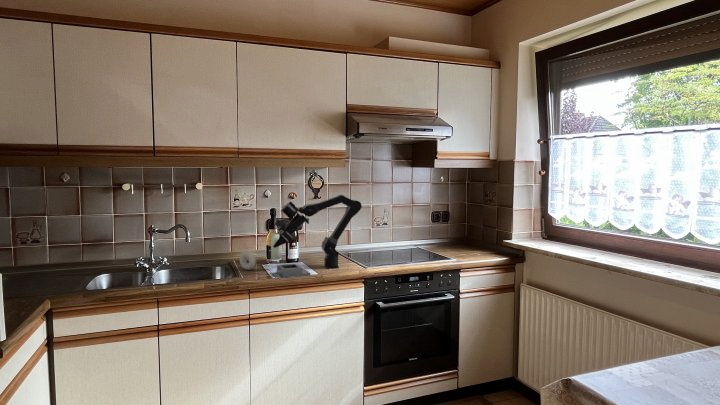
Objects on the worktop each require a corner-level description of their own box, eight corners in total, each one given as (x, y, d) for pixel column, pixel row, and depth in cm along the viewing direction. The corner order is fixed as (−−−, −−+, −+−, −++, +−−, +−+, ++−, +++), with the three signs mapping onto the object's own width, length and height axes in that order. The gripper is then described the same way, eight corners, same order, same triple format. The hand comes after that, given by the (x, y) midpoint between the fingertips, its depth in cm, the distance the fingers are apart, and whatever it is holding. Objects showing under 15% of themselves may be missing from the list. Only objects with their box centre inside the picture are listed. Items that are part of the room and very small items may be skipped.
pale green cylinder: (279, 257, 233) (279, 232, 232) (282, 259, 228) (282, 234, 227) (269, 258, 231) (269, 233, 229) (272, 260, 226) (272, 234, 225)
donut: (238, 269, 231) (238, 250, 230) (243, 267, 234) (243, 248, 233) (252, 271, 226) (252, 252, 225) (257, 270, 228) (257, 251, 228)
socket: (303, 270, 231) (303, 262, 231) (310, 275, 221) (310, 267, 221) (276, 272, 225) (276, 264, 225) (282, 277, 215) (282, 269, 215)
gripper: (281, 211, 237) (260, 232, 235) (286, 215, 220) (263, 238, 217) (296, 225, 240) (275, 247, 238) (302, 230, 223) (279, 253, 220)
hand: (273, 246), depth 228 cm, fingers closed on pale green cylinder, 5 cm apart
